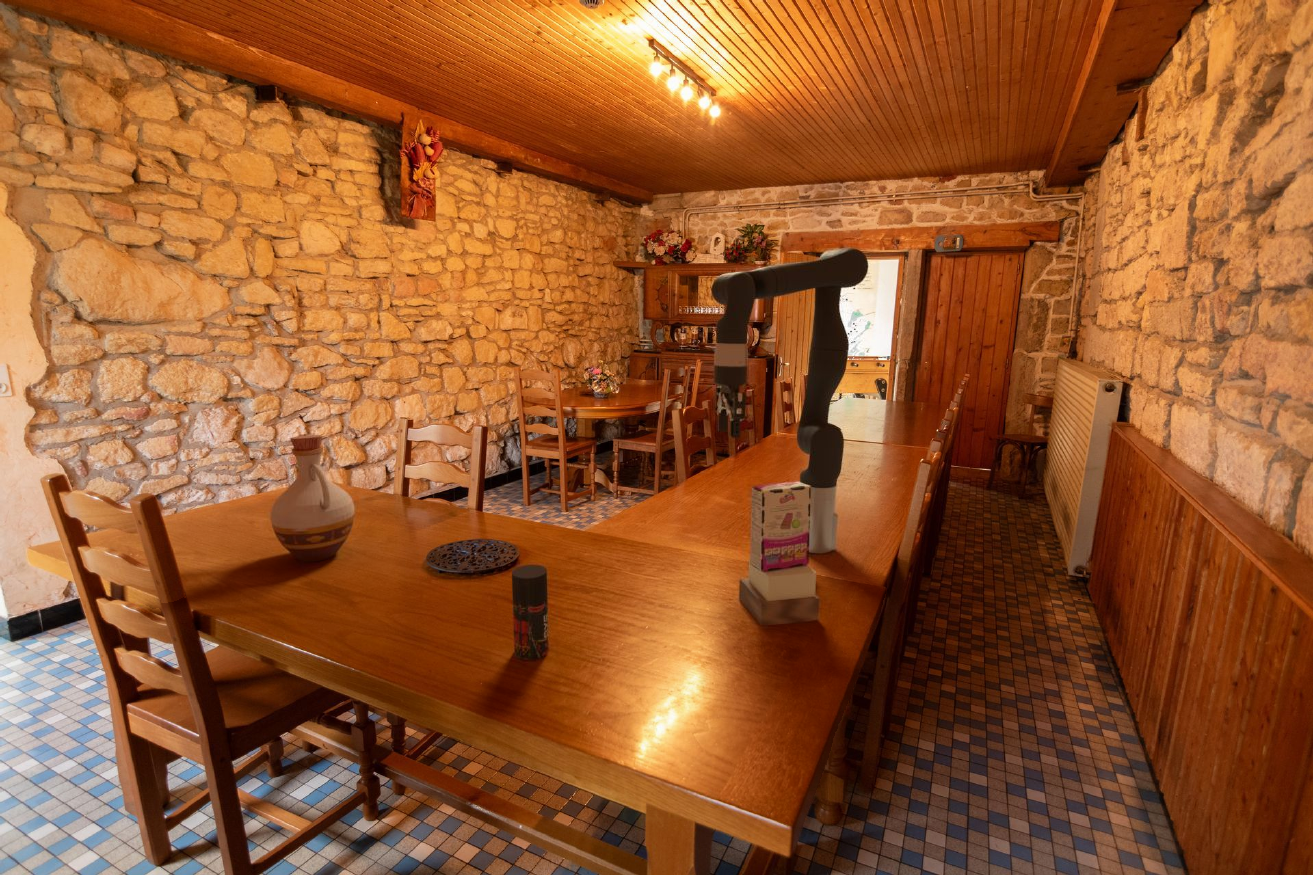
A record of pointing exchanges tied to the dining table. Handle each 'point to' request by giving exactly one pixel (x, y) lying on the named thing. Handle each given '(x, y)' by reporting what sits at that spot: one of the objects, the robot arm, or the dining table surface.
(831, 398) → the robot arm
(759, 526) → the candy bar box
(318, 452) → the jug
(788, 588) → the cream square block
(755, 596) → the walnut slab
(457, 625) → the dining table surface
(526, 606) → the deodorant
